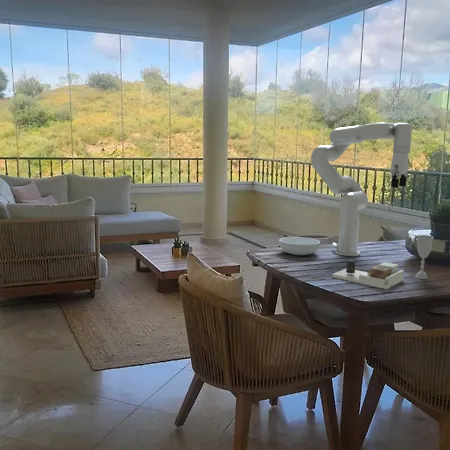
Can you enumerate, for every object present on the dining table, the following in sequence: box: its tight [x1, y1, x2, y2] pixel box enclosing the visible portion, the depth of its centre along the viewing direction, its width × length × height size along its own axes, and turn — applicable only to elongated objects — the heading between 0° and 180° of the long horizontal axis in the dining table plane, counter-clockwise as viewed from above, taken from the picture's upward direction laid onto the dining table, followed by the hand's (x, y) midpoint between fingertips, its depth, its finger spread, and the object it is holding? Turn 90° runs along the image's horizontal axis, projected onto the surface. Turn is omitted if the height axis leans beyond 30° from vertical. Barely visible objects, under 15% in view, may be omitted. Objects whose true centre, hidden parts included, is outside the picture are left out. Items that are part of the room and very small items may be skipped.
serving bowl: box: [278, 236, 321, 256], centre depth 255 cm, size 21×21×7 cm
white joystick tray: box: [332, 261, 405, 290], centre depth 211 cm, size 24×17×7 cm
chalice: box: [415, 234, 435, 280], centre depth 214 cm, size 7×7×18 cm
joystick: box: [345, 259, 391, 279], centre depth 207 cm, size 18×6×6 cm, turn 50°
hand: (398, 186), depth 235 cm, fingers open, 9 cm apart
